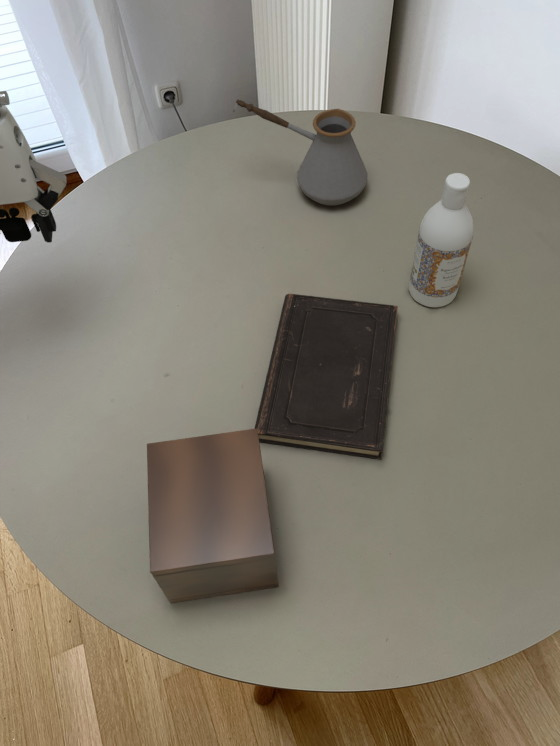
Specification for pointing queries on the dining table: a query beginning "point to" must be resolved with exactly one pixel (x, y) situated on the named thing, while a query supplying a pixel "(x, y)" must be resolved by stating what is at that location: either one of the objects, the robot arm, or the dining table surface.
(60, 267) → the dining table surface
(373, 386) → the hardcover book
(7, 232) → the wireless earbuds
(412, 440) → the dining table surface
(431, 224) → the bath foam
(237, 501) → the bronze lidded case
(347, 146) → the coffee pot
